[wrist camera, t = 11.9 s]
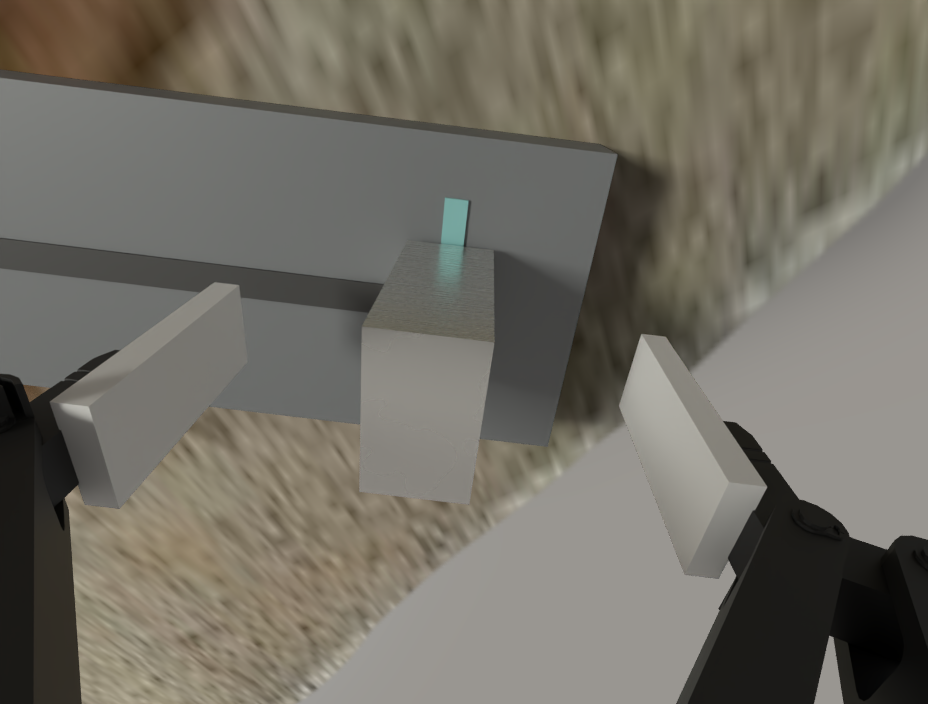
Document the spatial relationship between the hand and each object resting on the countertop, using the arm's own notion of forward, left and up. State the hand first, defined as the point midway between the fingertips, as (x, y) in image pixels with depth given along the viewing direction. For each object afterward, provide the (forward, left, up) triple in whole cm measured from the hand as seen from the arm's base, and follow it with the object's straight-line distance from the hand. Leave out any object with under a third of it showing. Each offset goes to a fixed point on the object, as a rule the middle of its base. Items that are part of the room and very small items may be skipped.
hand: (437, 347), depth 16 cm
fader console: (-9, 0, -6) cm, 11 cm away
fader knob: (0, 0, -3) cm, 3 cm away
